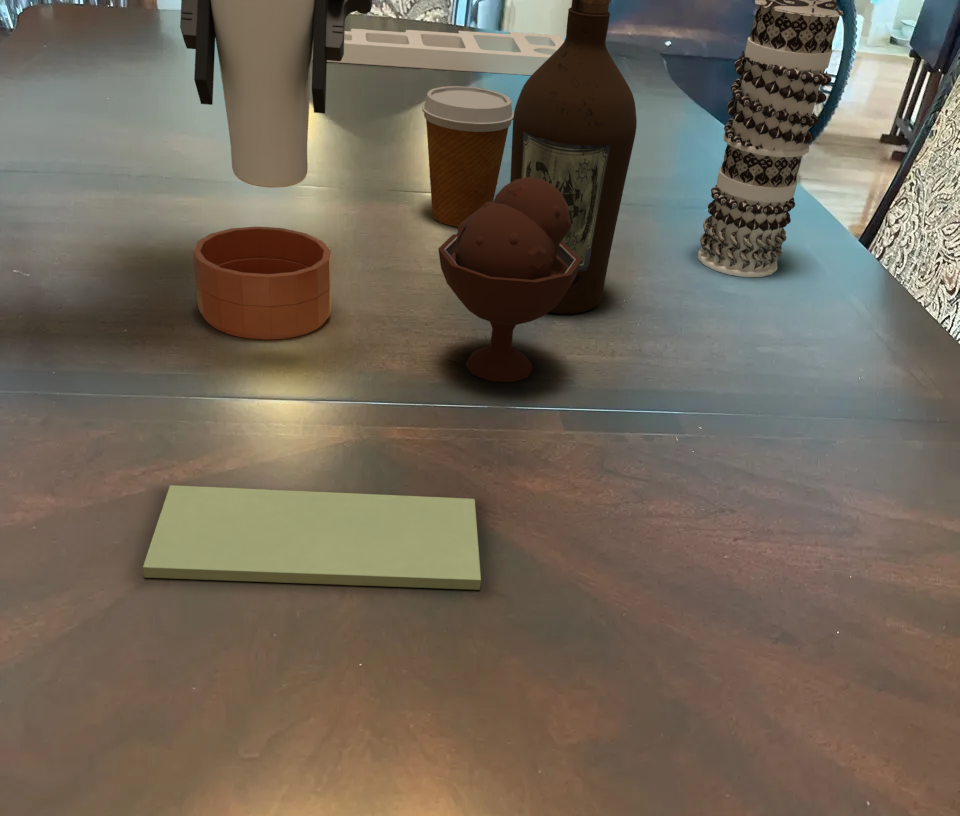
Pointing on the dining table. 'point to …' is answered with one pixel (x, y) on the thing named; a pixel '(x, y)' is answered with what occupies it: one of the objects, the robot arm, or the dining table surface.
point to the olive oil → (579, 142)
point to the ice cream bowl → (511, 268)
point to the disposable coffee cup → (464, 148)
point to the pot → (263, 282)
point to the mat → (315, 538)
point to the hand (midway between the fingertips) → (261, 96)
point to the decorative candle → (768, 134)
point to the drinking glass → (266, 86)
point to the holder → (451, 50)
